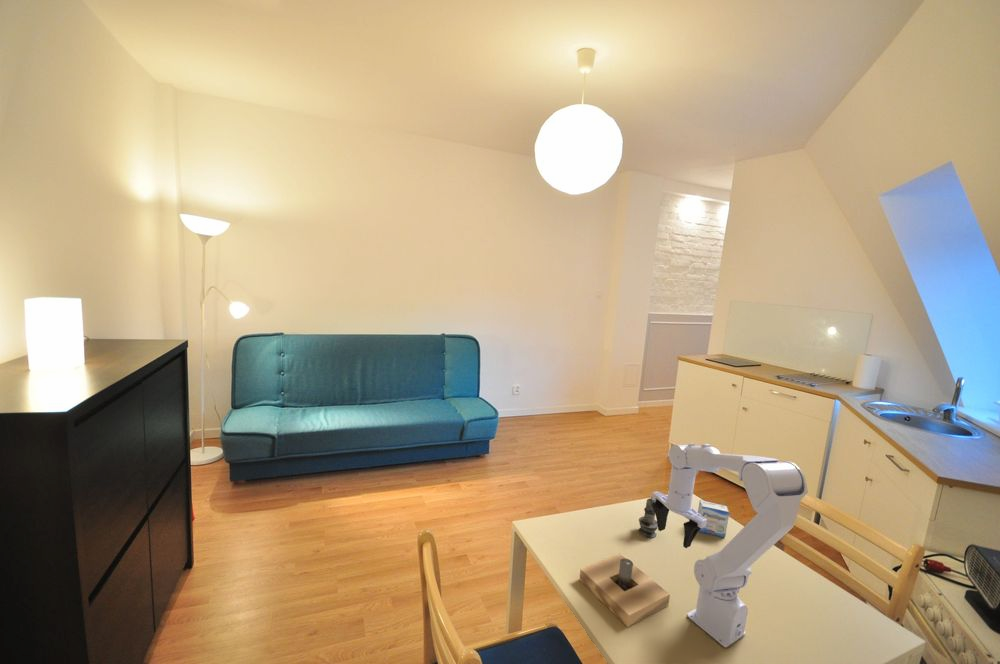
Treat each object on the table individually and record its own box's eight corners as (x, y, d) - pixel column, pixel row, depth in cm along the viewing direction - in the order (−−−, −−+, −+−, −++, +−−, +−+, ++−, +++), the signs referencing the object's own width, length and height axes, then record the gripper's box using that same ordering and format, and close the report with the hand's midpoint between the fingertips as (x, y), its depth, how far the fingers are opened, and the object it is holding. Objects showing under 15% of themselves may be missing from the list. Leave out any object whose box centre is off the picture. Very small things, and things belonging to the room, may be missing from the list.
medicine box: (697, 531, 130) (701, 506, 129) (695, 524, 134) (699, 499, 133) (725, 538, 128) (729, 512, 127) (722, 530, 132) (726, 504, 131)
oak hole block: (668, 605, 99) (670, 594, 99) (627, 627, 92) (629, 615, 92) (618, 563, 113) (619, 553, 112) (579, 579, 106) (580, 568, 105)
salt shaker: (654, 528, 130) (659, 492, 129) (659, 540, 124) (664, 503, 123) (635, 525, 131) (640, 490, 129) (639, 537, 125) (644, 500, 123)
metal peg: (631, 593, 102) (635, 563, 101) (624, 598, 100) (628, 568, 99) (621, 585, 105) (624, 556, 103) (614, 590, 103) (617, 561, 102)
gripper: (716, 500, 103) (708, 549, 105) (666, 473, 115) (660, 519, 117) (700, 506, 99) (692, 558, 101) (649, 479, 111) (643, 525, 113)
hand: (673, 537), depth 109 cm, fingers open, 7 cm apart
